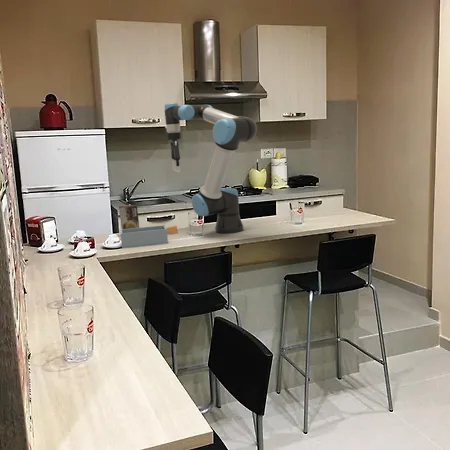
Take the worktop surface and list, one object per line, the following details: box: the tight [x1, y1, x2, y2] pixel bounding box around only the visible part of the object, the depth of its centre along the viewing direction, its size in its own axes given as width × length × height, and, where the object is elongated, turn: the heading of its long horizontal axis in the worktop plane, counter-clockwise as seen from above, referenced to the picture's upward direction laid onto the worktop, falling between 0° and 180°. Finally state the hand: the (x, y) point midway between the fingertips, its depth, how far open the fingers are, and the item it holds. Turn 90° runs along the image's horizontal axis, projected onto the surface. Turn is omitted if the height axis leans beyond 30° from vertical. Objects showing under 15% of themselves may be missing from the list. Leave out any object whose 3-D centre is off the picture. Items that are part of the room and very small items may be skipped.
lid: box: [165, 224, 179, 236], centre depth 275 cm, size 30×13×4 cm, turn 101°
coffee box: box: [118, 204, 140, 229], centre depth 286 cm, size 9×6×16 cm
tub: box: [120, 225, 169, 249], centre depth 256 cm, size 22×12×8 cm, turn 101°
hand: (176, 171), depth 285 cm, fingers open, 13 cm apart
